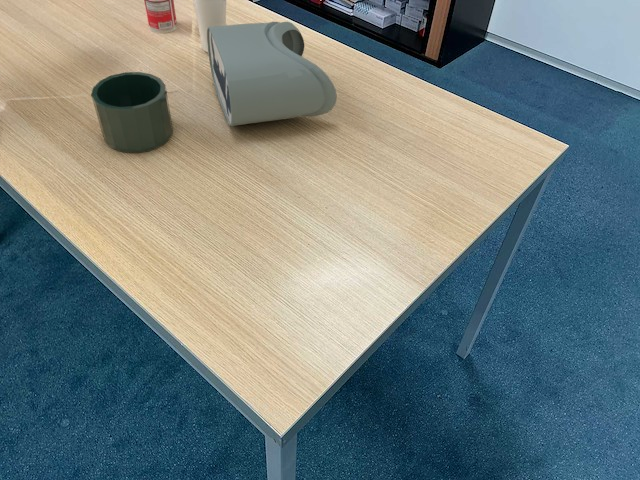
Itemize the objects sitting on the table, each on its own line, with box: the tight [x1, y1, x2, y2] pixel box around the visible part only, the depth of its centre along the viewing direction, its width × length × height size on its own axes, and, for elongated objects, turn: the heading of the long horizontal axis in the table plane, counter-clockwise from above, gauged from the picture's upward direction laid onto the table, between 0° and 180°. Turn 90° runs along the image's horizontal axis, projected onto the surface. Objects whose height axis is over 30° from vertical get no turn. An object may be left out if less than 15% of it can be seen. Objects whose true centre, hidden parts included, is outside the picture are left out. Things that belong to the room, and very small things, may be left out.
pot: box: [91, 71, 174, 154], centre depth 92 cm, size 12×12×8 cm
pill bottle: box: [143, 0, 178, 34], centre depth 119 cm, size 6×6×11 cm
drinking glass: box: [192, 0, 227, 54], centre depth 113 cm, size 7×7×15 cm
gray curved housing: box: [207, 21, 338, 127], centre depth 100 cm, size 22×19×13 cm
